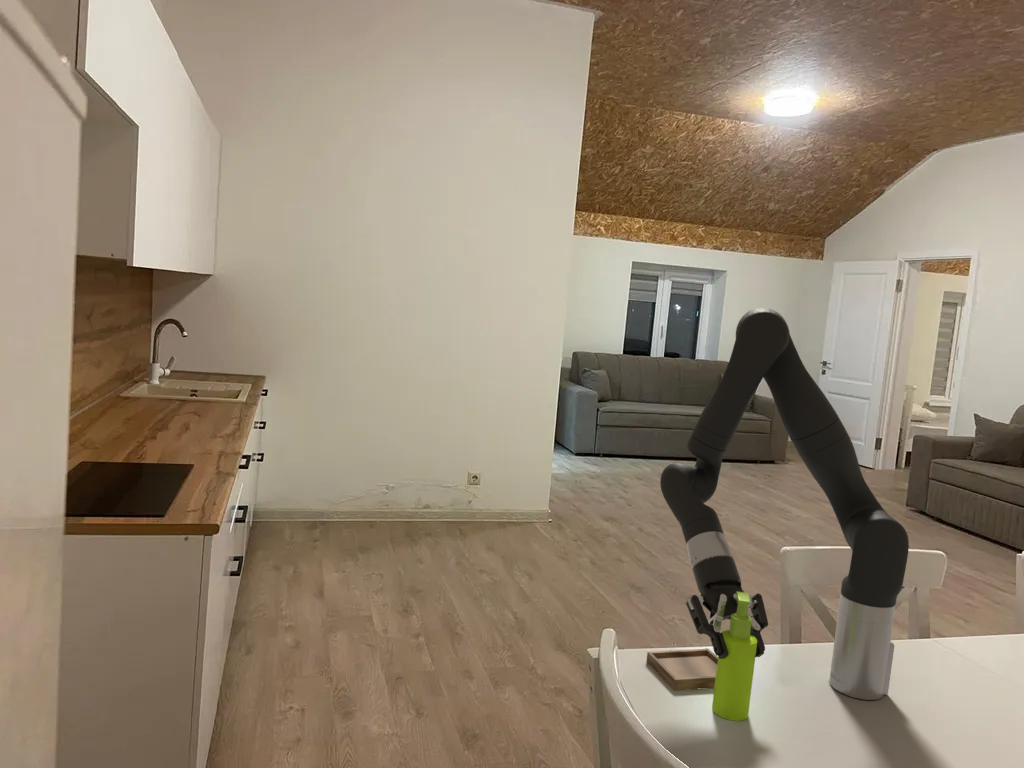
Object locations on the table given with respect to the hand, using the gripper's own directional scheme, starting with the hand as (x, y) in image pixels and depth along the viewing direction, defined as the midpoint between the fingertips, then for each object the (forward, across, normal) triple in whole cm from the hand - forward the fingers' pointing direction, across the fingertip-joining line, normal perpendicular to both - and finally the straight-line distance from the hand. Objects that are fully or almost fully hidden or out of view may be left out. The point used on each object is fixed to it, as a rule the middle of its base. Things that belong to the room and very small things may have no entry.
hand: (742, 656), depth 130 cm
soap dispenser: (+6, 0, +9) cm, 11 cm away
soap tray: (-3, 0, +18) cm, 18 cm away
